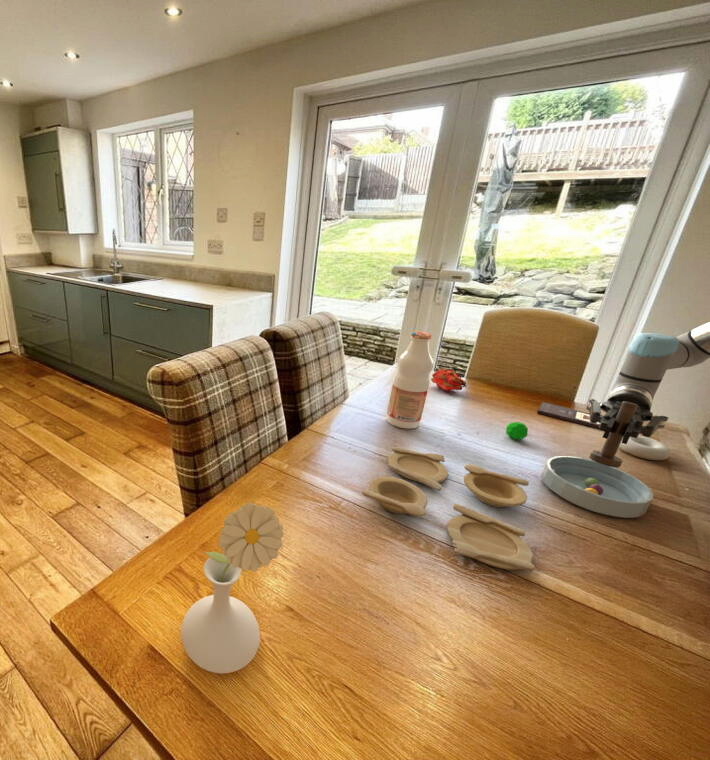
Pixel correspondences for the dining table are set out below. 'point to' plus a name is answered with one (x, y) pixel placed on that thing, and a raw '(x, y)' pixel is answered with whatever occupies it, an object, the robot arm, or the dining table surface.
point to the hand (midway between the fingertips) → (616, 435)
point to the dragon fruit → (448, 380)
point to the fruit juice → (411, 383)
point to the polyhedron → (516, 430)
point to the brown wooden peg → (615, 437)
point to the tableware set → (459, 507)
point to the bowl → (618, 486)
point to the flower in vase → (221, 611)
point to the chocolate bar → (567, 414)
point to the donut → (646, 448)
